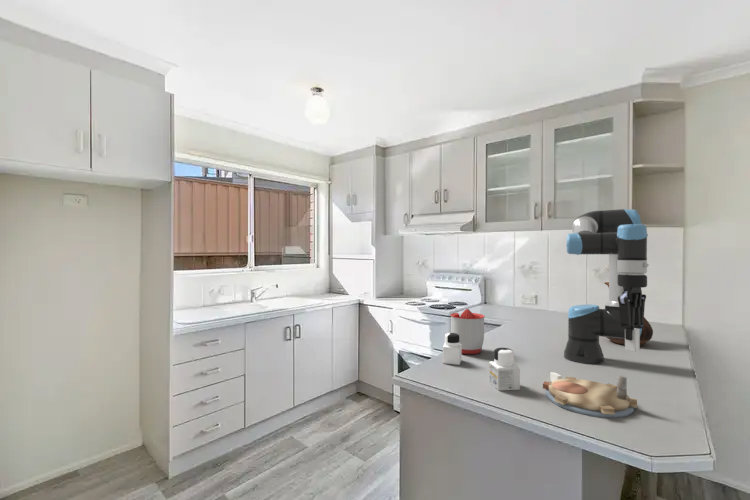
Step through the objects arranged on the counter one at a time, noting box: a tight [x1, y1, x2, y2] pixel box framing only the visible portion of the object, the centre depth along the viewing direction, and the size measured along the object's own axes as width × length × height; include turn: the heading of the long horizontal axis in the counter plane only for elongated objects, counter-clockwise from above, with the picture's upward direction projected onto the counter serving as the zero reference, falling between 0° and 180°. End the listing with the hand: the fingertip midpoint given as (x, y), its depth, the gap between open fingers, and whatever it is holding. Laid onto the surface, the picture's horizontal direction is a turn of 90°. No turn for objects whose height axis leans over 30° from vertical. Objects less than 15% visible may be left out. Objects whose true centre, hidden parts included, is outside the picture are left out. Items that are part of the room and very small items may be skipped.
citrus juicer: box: [450, 308, 485, 355], centre depth 170 cm, size 16×17×20 cm
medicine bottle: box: [442, 332, 463, 366], centre depth 153 cm, size 7×7×12 cm
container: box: [488, 347, 521, 391], centre depth 125 cm, size 8×8×13 cm
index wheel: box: [542, 375, 638, 414], centre depth 114 cm, size 25×24×8 cm
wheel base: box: [545, 371, 635, 419], centre depth 116 cm, size 29×24×3 cm
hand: (632, 349), depth 112 cm, fingers open, 2 cm apart
